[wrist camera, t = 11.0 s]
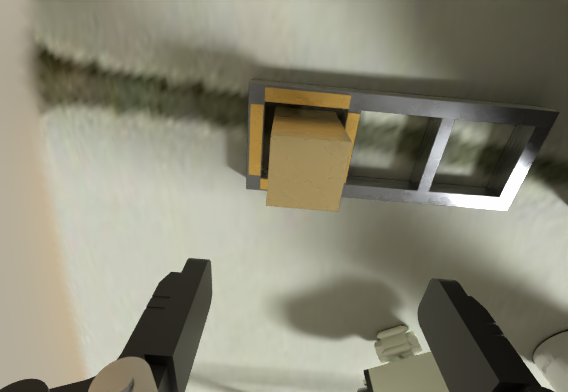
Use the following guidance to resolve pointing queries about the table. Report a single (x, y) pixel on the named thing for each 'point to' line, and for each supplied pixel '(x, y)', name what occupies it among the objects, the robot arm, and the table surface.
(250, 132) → the grey compartment tray
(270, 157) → the wooden block
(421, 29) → the table surface
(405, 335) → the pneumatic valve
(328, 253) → the table surface
